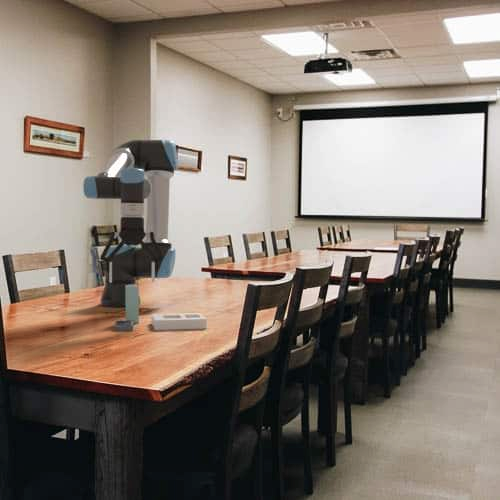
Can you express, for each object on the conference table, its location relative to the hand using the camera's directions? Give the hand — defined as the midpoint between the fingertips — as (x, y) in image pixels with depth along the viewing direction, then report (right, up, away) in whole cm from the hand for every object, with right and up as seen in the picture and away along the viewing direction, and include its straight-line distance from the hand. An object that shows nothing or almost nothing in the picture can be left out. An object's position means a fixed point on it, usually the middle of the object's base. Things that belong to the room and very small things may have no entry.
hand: (131, 282), depth 211 cm
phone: (-1, -14, -9) cm, 17 cm away
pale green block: (0, -13, +1) cm, 13 cm away
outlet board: (+16, -14, -4) cm, 21 cm away
